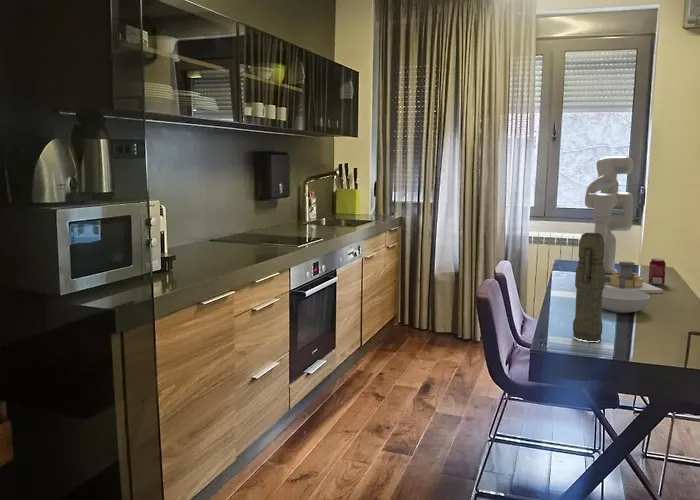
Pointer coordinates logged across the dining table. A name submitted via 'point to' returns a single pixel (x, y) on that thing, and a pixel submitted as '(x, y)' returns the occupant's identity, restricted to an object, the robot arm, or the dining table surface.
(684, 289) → the dining table surface
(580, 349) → the dining table surface
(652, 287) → the hub plate
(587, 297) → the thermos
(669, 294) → the dining table surface
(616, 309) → the serving bowl
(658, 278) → the soda can
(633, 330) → the dining table surface
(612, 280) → the tan ring with handle
